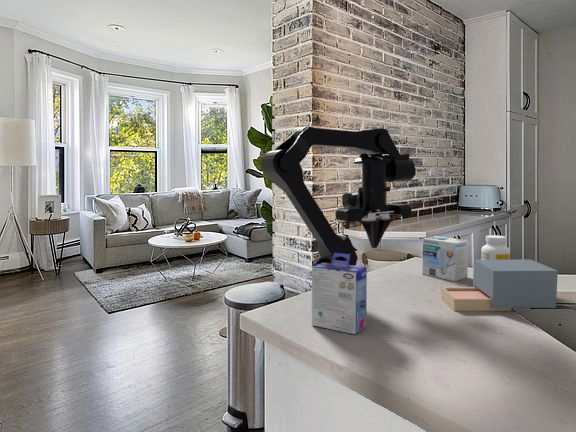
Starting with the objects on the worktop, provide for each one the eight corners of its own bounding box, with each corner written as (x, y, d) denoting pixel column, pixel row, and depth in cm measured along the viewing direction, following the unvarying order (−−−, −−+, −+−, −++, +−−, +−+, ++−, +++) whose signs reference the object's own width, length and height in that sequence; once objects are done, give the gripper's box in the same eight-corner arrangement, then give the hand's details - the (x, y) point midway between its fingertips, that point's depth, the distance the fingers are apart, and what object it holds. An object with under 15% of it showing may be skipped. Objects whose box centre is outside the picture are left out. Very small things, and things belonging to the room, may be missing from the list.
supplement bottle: (511, 284, 108) (513, 236, 106) (504, 290, 103) (506, 239, 102) (485, 280, 112) (486, 233, 111) (476, 285, 108) (478, 237, 106)
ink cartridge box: (368, 326, 81) (368, 254, 80) (357, 336, 77) (356, 260, 75) (324, 317, 87) (323, 250, 85) (311, 326, 82) (309, 255, 80)
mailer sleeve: (492, 307, 87) (493, 271, 86) (472, 292, 98) (473, 259, 97) (555, 307, 87) (557, 270, 86) (529, 292, 97) (530, 259, 96)
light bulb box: (421, 274, 120) (421, 238, 119) (434, 270, 124) (435, 235, 123) (455, 281, 111) (456, 242, 110) (468, 277, 115) (469, 239, 114)
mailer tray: (453, 310, 89) (454, 299, 89) (441, 297, 98) (441, 287, 98) (511, 310, 88) (511, 299, 88) (493, 297, 97) (493, 287, 97)
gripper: (383, 181, 109) (383, 239, 110) (322, 183, 100) (323, 246, 102) (413, 181, 99) (412, 245, 100) (349, 184, 90) (349, 254, 92)
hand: (374, 247), depth 99 cm, fingers closed
